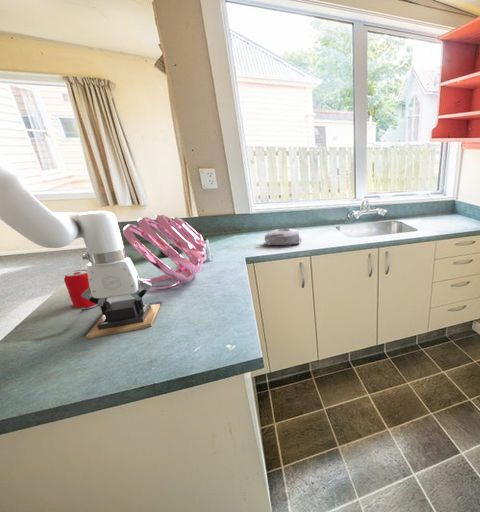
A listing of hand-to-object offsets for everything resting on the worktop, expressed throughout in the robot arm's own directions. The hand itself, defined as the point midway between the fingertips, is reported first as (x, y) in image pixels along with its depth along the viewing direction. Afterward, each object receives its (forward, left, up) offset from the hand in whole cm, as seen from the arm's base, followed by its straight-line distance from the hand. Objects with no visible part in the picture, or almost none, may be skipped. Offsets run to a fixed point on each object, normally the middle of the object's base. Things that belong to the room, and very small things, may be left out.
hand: (124, 313), depth 88 cm
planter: (+18, +53, -3) cm, 56 cm away
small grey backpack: (+56, +70, -3) cm, 90 cm away
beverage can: (-14, +17, -3) cm, 22 cm away
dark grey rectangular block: (0, 0, -1) cm, 1 cm away
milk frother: (+1, +76, -3) cm, 76 cm away
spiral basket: (+9, +28, -3) cm, 30 cm away
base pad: (0, 0, -3) cm, 3 cm away
